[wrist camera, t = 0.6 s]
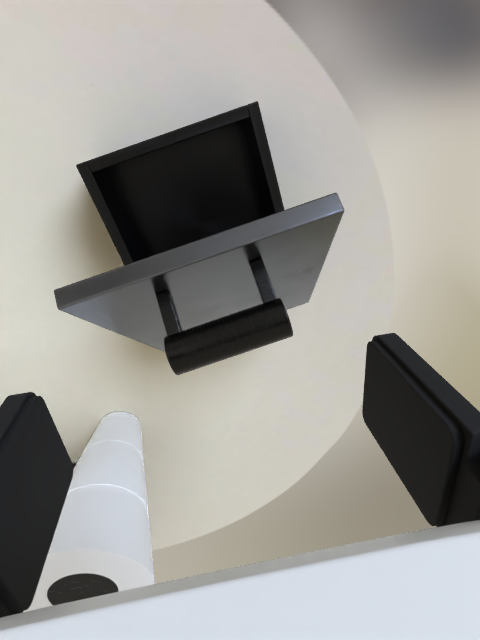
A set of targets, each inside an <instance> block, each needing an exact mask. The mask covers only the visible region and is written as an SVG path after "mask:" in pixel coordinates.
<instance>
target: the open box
mask: <svg viewBox="0 0 480 640" xmlns="http://www.w3.org/2000/svg"><path fill="white" fill-rule="evenodd" d="M76 167H77V169H78V171H79V173H80V175H81V177H82V179H83V181H84V183H85V185H86V187H87V189H88V191H89V193H90V195H91V197H92V199H93V202H94V204H95V206H96V208H97V210H98V212H99V214H100V216H101V218H102V220H103V222H104V224H105V226H106V228H107V230H108V232H109V234H110V237H111V239H112V241H113V243H114V245H115V247H116V249H117V251H118V253H119V255H120V257H121V259H122V261H123V263H124V265H128V264H131V263H134V262H137V261H140V260H143V259H145V258H148V257H151V256H154V255H157V254H160V253H163V252H166V251H169V250H171V249H174V248H177V247H180V246H183V245H186V244H189V243H192V242H195V241H197V240H200V239H203V238H206V237H209V236H212V235H215V234H218V233H221V232H223V231H226V230H229V229H232V228H235V227H238V226H241V225H244V224H247V223H249V222H252V221H255V220H258V219H261V218H264V217H267V216H270V215H273V214H275V213H278V212H281V211H284V207H283V202H282V198H281V194H280V190H279V186H278V182H277V178H276V174H275V170H274V166H273V162H272V157H271V153H270V149H269V145H268V141H267V137H266V133H265V129H264V125H263V121H262V117H261V112H260V108H259V104H258V102H257V101H256V102H254V103H251V104H248V105H245V106H242V107H239V108H237V109H234V110H231V111H228V112H225V113H222V114H219V115H217V116H214V117H211V118H208V119H205V120H202V121H200V122H197V123H194V124H191V125H188V126H185V127H183V128H180V129H177V130H174V131H171V132H168V133H166V134H163V135H160V136H157V137H154V138H151V139H149V140H146V141H143V142H140V143H137V144H134V145H131V146H129V147H126V148H123V149H120V150H117V151H114V152H112V153H109V154H106V155H103V156H100V157H97V158H95V159H92V160H89V161H86V162H83V163H80V164H78V165H76Z"/></svg>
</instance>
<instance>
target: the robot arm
mask: <svg viewBox="0 0 480 640" xmlns="http://www.w3.org/2000/svg"><path fill="white" fill-rule="evenodd" d="M363 418H364V421H365V423H366V425H367V426H368V428H369V430H370V431H371V433H372V435H373V436H374V438H375V439H376V441H377V443H378V444H379V446H380V447H381V449H382V450H383V452H384V453H385V455H386V457H387V458H388V460H389V461H390V463H391V465H392V466H393V468H394V469H395V471H396V473H397V474H398V476H399V477H400V479H401V481H402V482H403V484H404V485H405V487H406V488H407V490H408V492H409V493H410V495H411V496H412V498H413V499H414V501H415V503H416V504H417V506H418V507H419V509H420V511H421V512H422V514H423V515H424V517H425V519H426V520H427V521H428V523H429V524H430V525H432V526H437V527H435V528H430V529H424V530H419V531H413V532H408V533H402V534H397V535H392V536H387V537H382V538H377V539H372V540H367V541H362V542H357V543H352V544H348V545H342V546H337V547H333V548H327V549H323V550H318V551H312V552H308V553H302V554H297V555H293V556H288V557H283V558H278V559H273V560H268V561H263V562H259V563H254V564H249V565H244V566H240V567H235V568H229V569H225V570H220V571H215V572H210V573H206V574H201V575H196V576H191V577H186V578H182V579H177V580H172V581H167V582H162V583H157V584H153V585H148V586H143V587H139V588H134V589H129V590H124V591H120V592H115V593H110V594H106V595H101V596H96V597H91V598H87V599H82V600H77V601H73V602H68V603H63V604H59V605H54V606H49V607H45V608H40V609H36V610H32V611H27V612H23V611H25V610H27V609H28V608H29V607H30V606H31V604H32V601H33V598H34V595H35V592H36V589H37V586H38V583H39V580H40V577H41V574H42V570H43V567H44V564H45V561H46V558H47V555H48V552H49V549H50V546H51V543H52V540H53V536H54V533H55V530H56V527H57V524H58V521H59V518H60V515H61V512H62V509H63V505H64V502H65V499H66V496H67V493H68V490H69V487H70V484H71V481H72V477H73V465H72V462H71V460H70V457H69V455H68V453H67V451H66V448H65V446H64V444H63V442H62V439H61V437H60V435H59V433H58V431H57V428H56V426H55V424H54V422H53V419H52V417H51V415H50V413H49V410H48V408H47V406H46V404H45V402H44V400H43V398H42V397H41V396H36V395H35V394H34V393H33V392H28V393H22V394H16V395H10V396H8V397H7V398H6V399H5V401H4V402H3V404H2V405H1V407H0V640H480V412H479V411H478V410H477V409H476V408H475V407H474V406H473V405H472V404H471V403H469V402H468V401H467V400H466V399H465V398H464V397H463V396H462V395H461V394H460V393H459V392H458V391H457V390H455V389H454V388H453V387H452V386H451V385H450V384H449V383H448V382H447V381H446V380H445V379H444V378H443V377H442V376H441V375H439V374H438V373H437V372H436V371H435V370H434V369H433V368H432V367H431V366H430V365H429V364H428V363H427V362H426V361H425V360H423V359H422V358H421V357H420V356H419V355H418V354H417V353H416V352H415V351H414V350H413V349H412V348H411V347H410V346H409V345H407V344H406V343H405V342H404V341H403V340H402V339H401V338H400V337H399V336H398V335H396V334H395V333H390V334H384V335H377V336H374V337H373V339H372V341H371V342H368V344H367V354H366V368H365V382H364V396H363Z"/></svg>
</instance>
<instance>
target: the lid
mask: <svg viewBox="0 0 480 640" xmlns="http://www.w3.org/2000/svg"><path fill="white" fill-rule="evenodd" d="M343 213H344V208H343V206H342V204H341V201H340V199H339V197H338V194H337V193H333V194H330V195H327V196H325V197H322V198H319V199H316V200H313V201H310V202H307V203H304V204H301V205H299V206H296V207H293V208H290V209H287V210H284V211H281V212H278V213H275V214H273V215H270V216H267V217H264V218H261V219H258V220H255V221H252V222H249V223H247V224H244V225H241V226H238V227H235V228H232V229H229V230H226V231H223V232H221V233H218V234H215V235H212V236H209V237H206V238H203V239H200V240H197V241H195V242H192V243H189V244H186V245H183V246H180V247H177V248H174V249H171V250H169V251H166V252H163V253H160V254H157V255H154V256H151V257H148V258H145V259H143V260H140V261H137V262H134V263H131V264H128V265H125V266H122V267H119V268H117V269H114V270H111V271H108V272H105V273H102V274H99V275H96V276H93V277H91V278H88V279H85V280H82V281H79V282H76V283H73V284H70V285H67V286H65V287H62V288H59V289H56V290H54V294H55V298H56V303H57V307H58V309H59V310H61V311H63V312H66V313H68V314H71V315H73V316H76V317H78V318H81V319H83V320H86V321H88V322H91V323H93V324H96V325H98V326H101V327H103V328H106V329H108V330H111V331H113V332H116V333H119V334H121V335H124V336H126V337H129V338H131V339H134V340H136V341H139V342H141V343H144V344H146V345H149V346H151V347H154V348H156V349H159V350H161V351H165V352H166V356H167V359H168V362H169V364H170V366H171V368H172V370H173V371H174V373H175V374H176V375H180V374H183V373H186V372H189V371H192V370H195V369H198V368H201V367H203V366H206V365H209V364H212V363H215V362H218V361H221V360H224V359H227V358H230V357H233V356H236V355H239V354H242V353H245V352H248V351H251V350H253V349H256V348H259V347H262V346H265V345H268V344H271V343H274V342H277V341H280V340H283V339H286V338H289V337H292V336H293V331H292V327H291V323H290V320H289V317H288V314H287V311H286V310H287V309H290V308H293V307H296V306H299V305H302V304H305V303H308V302H309V300H310V297H311V295H312V292H313V290H314V287H315V284H316V282H317V279H318V277H319V274H320V272H321V269H322V266H323V264H324V261H325V259H326V256H327V254H328V251H329V248H330V246H331V243H332V241H333V238H334V236H335V233H336V231H337V228H338V225H339V223H340V220H341V218H342V215H343Z"/></svg>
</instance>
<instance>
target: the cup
mask: <svg viewBox="0 0 480 640" xmlns="http://www.w3.org/2000/svg"><path fill="white" fill-rule="evenodd" d="M148 516H149V513H148V502H147V491H146V481H145V470H144V457H143V445H142V433H141V424H140V422H139V420H138V419H137V418H136V417H135V416H134V415H132V414H130V413H127V412H113V413H110V414H107V415H106V416H104V417H103V418H102V420H101V421H100V423H99V425H98V426H97V428H96V430H95V432H94V434H93V435H92V437H91V439H90V441H89V442H88V444H87V446H86V448H85V450H84V451H83V453H82V455H81V458H80V459H79V460H78V462H77V464H76V466H75V467H74V469H73V477H72V481H71V484H70V487H69V490H68V493H67V496H66V499H65V502H64V505H63V509H62V512H61V515H60V518H59V521H58V524H57V527H56V530H55V533H54V536H53V540H52V543H51V546H50V549H49V552H48V555H47V558H46V561H45V564H44V567H43V570H42V574H41V577H40V580H39V583H38V586H37V589H36V592H35V595H34V598H33V601H32V604H31V606H30V607H29V608H28V609H27V610H25V611H23V612H27V611H32V610H36V609H40V608H45V607H49V606H54V605H59V604H63V603H68V602H73V601H77V600H82V599H87V598H91V597H96V596H101V595H106V594H110V593H115V592H120V591H124V590H129V589H134V588H139V587H143V586H148V585H153V584H155V579H154V568H153V556H152V545H151V533H150V522H149V517H148Z"/></svg>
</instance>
